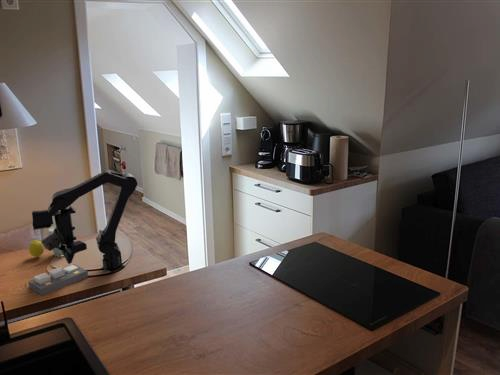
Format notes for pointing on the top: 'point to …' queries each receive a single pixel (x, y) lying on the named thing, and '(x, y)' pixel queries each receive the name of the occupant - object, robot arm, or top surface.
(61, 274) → the middle button
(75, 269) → the button
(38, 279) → the button
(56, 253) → the coffee cup
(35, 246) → the lemon
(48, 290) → the button board
